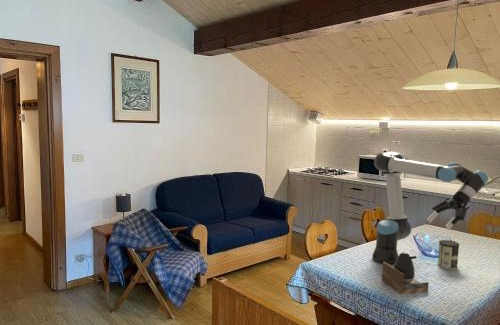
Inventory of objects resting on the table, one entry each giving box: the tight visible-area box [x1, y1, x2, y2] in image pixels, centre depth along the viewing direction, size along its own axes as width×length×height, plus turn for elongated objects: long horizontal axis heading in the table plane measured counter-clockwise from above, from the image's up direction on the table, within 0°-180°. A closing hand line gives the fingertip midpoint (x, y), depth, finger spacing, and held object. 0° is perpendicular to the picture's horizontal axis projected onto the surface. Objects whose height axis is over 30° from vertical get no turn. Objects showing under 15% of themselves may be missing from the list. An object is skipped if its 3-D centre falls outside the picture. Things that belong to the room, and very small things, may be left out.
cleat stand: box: [381, 262, 429, 295], centre depth 191 cm, size 15×16×10 cm
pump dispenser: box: [393, 251, 417, 284], centre depth 190 cm, size 10×10×15 cm
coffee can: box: [437, 239, 460, 271], centre depth 219 cm, size 10×10×14 cm
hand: (437, 224), depth 197 cm, fingers open, 13 cm apart
